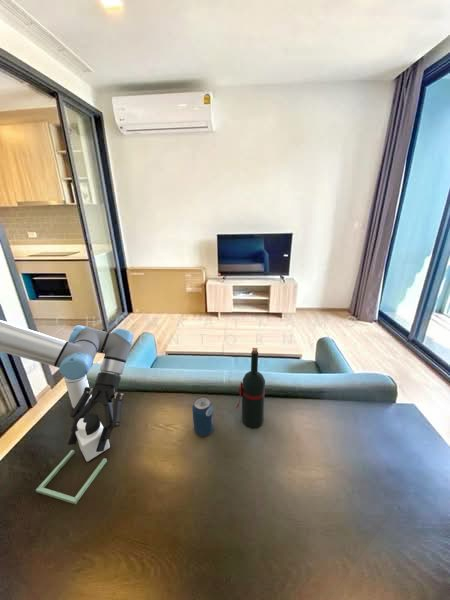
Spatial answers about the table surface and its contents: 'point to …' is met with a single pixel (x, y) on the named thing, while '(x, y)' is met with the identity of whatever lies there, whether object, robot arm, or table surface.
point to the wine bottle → (252, 395)
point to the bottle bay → (63, 496)
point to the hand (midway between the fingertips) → (85, 447)
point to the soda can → (202, 416)
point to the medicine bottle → (90, 435)
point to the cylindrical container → (76, 389)
